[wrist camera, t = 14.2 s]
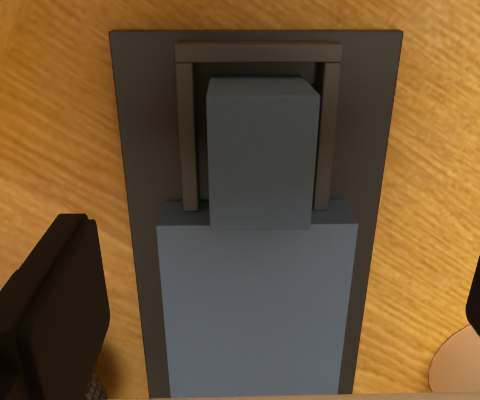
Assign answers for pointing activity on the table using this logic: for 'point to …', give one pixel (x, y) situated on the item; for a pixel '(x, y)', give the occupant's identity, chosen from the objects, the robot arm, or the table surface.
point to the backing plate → (164, 160)
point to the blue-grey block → (261, 151)
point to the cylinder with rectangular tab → (457, 364)
